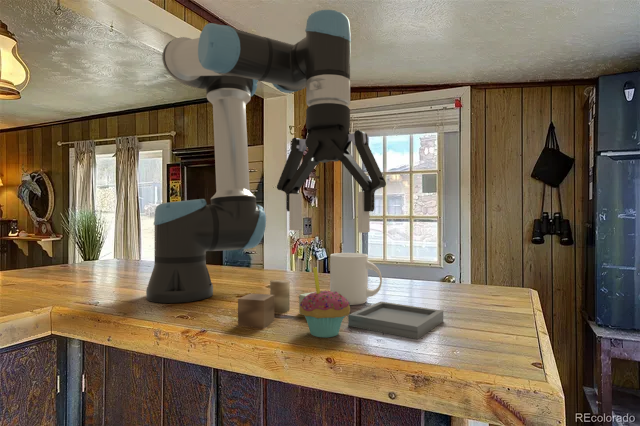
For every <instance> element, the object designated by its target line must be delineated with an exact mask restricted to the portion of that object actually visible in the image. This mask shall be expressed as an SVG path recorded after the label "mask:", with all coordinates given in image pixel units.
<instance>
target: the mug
mask: <svg viewBox="0 0 640 426" xmlns="http://www.w3.org/2000/svg"><path fill="white" fill-rule="evenodd" d="M368 257H369V256H368V254H367V253H361V252H360V253H358V252H335V253H331V254H330V255H329V259H330V260H329V268H330V269H329V271H330V272H329V283H330V284H329V291H331V292H337V293H339V294H341V295H342V296H344V297H345V298H346V299H347V300H348V302H349V303H350V304H349V306H358V305H364V304H365V303H366V302H367V301H368V298H369V297H373V296H375V295H377V294H378V293H379V292H380V290H381V287H382V284H383V277H382V273H381V270H380V269H379V268H378V266H377V265H376V264H374V263H373V262H371V261H369V258H368ZM369 270H370V271H374V272H376V274H377V276H378V277H379V284H378V286H377V287H376V288H375V289H371V288H368V285H369V282H368V281H369V276H368V275H369Z"/></svg>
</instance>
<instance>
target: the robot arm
mask: <svg viewBox="0 0 640 426" xmlns="http://www.w3.org/2000/svg"><path fill="white" fill-rule="evenodd" d="M350 24H351V23H350V19H349V18H348V16H347V15H346V14H344V13H343V12H341V11H338V10H336V9H335V10H334V9H319V10H317V11H314V12H313V13H311V14H310V15H308V17H307V19H306V25H305V28H304V31H305V35H306V36H305V37H303V39H301V40H299V41H297V42H296V43H295V44H292V43H288V42H285V41H281V40H278V39H277V40H276V39H275V38H274V39H273V38H269V37H266V36H261V35H258V34H255V33H251V32H248V31H244V30H240V29H237V28H234V27H232V26H230V25H225V24H218V23H212V22H209V23H206V24H205V26H203V27H202V28H203V29H202V30H201V32H200V35H199V37H197V38H191V37H186V36H182V37H181V36H180V37H177V38H173V39H172V40H170V41H168V42H167V44H166V45H165V47H164V48H163V52H162V57H161V58H162V59H161V60H162V63H163V67H164V68H165V70H166V72H167V73H168V75H170V76H171V77H172V78H173V79H174V80H176V81H178V82H179V83H180V84H183V85H186V86H188V87H192V88H195V89H201V90H205V92H206V99H207V101H208V102H209V103H211V105H212V116H213V120H212V121H213V139H214V140H213V143H214V160H215V161H214V162H215V163H214V165H215V166H214V167H215V189H216V192H215V193H214V195H213V196H211V198H210V204H208V203H207V200H206V199H205V198H199V199H190V200H189V199H188V200H187V199H186V200H180V201H179V200H178V201H171V202H162V203H159V204H158V205H157V206H156V207H155V209H154V210H155V211H154V220H153V221H154V222H153V226H154V264H153V265H154V266H153V268H152V269H153V270H152V272H151V275H150V277H149V281H148V284H147V287H146V290H145V291H146V294H145V296H146V298H145V299H146V300H147V301H149V302H152V303H161V304H176V303H177V304H179V303H180V304H181V303H190V302H196V301H197V302H198V301H202V300H206V299H208V298H211V297H213V295H214V285H213V283H212V279H211V276H210V273H209V270H208V267H207V263H206V261H207V259H206V258H207V257H206V255H207V253H206V252H217V251H218V252H219V251H221V252H222V251H241V250H242V251H243V250H249V249H253V248H256V247H257V246H258V245H259V244H260V243H261V242H262V240H263V238H264V235H265V231H266V226H267V215H266V212H265V208H264V207H263V206H262V205H260V204H257V197H256V196H255V194H253V193H252V192H251V189H250V170H249V169H250V167H249V150H248V132H247V131H248V129H247V128H248V127H247V113H246V111H247V109H246V108H247V107H246V105H247V104H248V103H249V102H250V101H251V100H252V99H251V97H253V96H254V95H255V93H256V92H257V88H258V82H259V81H260V82H264V83H268V84H269V83H270V84H272V86H273V87H275V89H277V90H278V91H279V92H280V93H284V94H292V93H295V92H298V91H302V90H304V89H306V92H305V93H306V97H305V98H306V102H305V103H306V105H307V106H308V107H307V108H306V109H305V117H306V118H305V125H306V126H305V127H306V131H307V136H306V138H297V137H293V138H292V139H291V143H290V151H289V153H288V157H287V159H286V162H285V164H284V167H283V169H282V172H281V175H280V177H279V179H278V182H277V185H276V189H277V190H278V191H282V192H284V193H285V195H286V196H285V197H286V198H285V201H286V204H285V205H286V212H289V214H288V216H289V220H288V221H289V222H288V223H289V224H288V225H289V226H288V228H289V229H288V230H289V231H302V229H303V228H302V225H303V224H302V215H303V214H302V212H303V211H302V210H303V208H302V203H303V202H302V201H303V200H302V199H303V198H302V197H303V196H302V195H303V194H301V193H300V192H299V191H300V189H301V188H302V186H303V185H304V184H305V182H306V181H307V179H308V178H309V177H310V175H311V173H312V172H313V170H314V169H315V168H316V166H318V165H319V164H320V163H328V162H335V163H338V162H341V163H342V165H343V166H344V167H345V168H346V170H347V171H348V172H349V174H350V176H352V178H354V180H355V182H356V183H357V185H358V186H360V187H361V191H357V233H360V234H361V233H362V234H364V233H370V225H371V224H370V217H371V215H370V212H374V211H375V195H376V194H375V192H376V191H377V190H379V189H382V188H385V187H386V185H387V183H386V179H385V177H384V176H383V173H382V171H381V169H380V167H379V164H378V163H377V160H376V158H375V157H374V155H373V152H372V150H371V147H370V146H369V139H368V138H369V137H368V133H367V132H364V131H362V130H359V129H356V130H355V131H354V132H353V133H351V132H350V128H351V109H350V108H349V106H350V105H351V43H352V39H351V26H350ZM351 143H352V144H353V146H355V147H356V151H357V152H358V155H359V157H360V159H361V162H362V163H363V166H364V168H365V169H366V172H367V174H368V175H367V174H366V173H365V171H364V170H363V169H362V167H361V166H360V165H359V164H358V163H357V161H356V160H355V158H354V156H353V155H352V153H351V152H350V151H349V150H348V148H349V147H350V145H351ZM307 149H308V150H307ZM306 150H307V152H306V153H305V151H306ZM304 153H305V155H304ZM302 159H303V160H302ZM301 161H302V162H301Z"/></svg>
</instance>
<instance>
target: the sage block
mask: <svg viewBox="0 0 640 426" xmlns="http://www.w3.org/2000/svg"><path fill="white" fill-rule="evenodd" d="M314 292H315V291H313V292H305V293H302V294H301V293H299V295H298V297H299V298H298V299H299V300H298V301H299V302H298V303H299V304H298V305H299V306H298V307H299V311H298V313H300V302H301V301H302V300H303V299H304V297H305V296H307V295H309V294H311V293H314ZM300 315H302V316H304V314H301V313H300Z"/></svg>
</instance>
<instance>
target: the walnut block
mask: <svg viewBox="0 0 640 426" xmlns="http://www.w3.org/2000/svg"><path fill="white" fill-rule="evenodd" d="M273 322H275V312H274V295H270V293H268V294H266V293H265V294H264V293H252V292H251V293H248V294H246V295H243V296H241V297H239V298H237V327H244V328H253V329H266V327H268V326H270V325H271V324H273Z"/></svg>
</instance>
